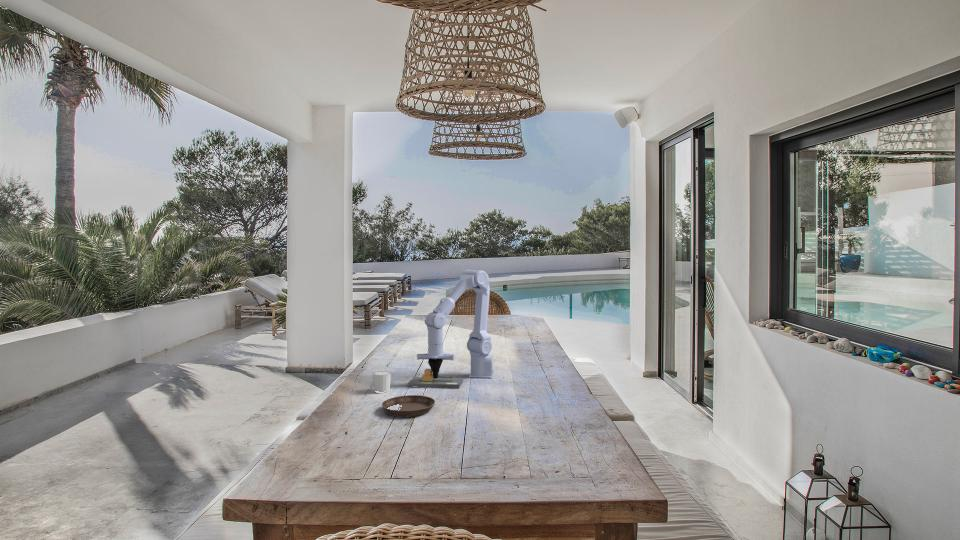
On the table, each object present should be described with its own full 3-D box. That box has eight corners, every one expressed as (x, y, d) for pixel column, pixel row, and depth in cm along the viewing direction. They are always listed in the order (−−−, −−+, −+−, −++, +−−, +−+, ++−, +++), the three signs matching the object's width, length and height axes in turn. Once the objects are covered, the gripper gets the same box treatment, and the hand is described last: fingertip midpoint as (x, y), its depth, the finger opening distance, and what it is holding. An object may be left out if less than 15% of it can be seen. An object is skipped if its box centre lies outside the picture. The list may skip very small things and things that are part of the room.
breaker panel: (463, 382, 234) (463, 378, 233) (458, 388, 224) (458, 384, 224) (414, 380, 236) (414, 376, 236) (407, 387, 226) (407, 382, 226)
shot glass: (393, 389, 224) (393, 371, 223) (388, 394, 217) (388, 375, 216) (375, 388, 224) (375, 370, 224) (370, 393, 217) (370, 374, 217)
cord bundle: (452, 378, 239) (452, 376, 239) (451, 380, 236) (451, 377, 236) (423, 378, 240) (423, 375, 240) (422, 379, 238) (422, 377, 238)
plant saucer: (385, 421, 186) (385, 412, 186) (379, 406, 203) (379, 397, 202) (440, 416, 191) (440, 407, 190) (429, 401, 208) (429, 393, 207)
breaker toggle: (434, 378, 232) (434, 368, 232) (431, 381, 227) (431, 371, 227) (424, 378, 233) (424, 368, 233) (421, 381, 228) (421, 371, 228)
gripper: (414, 345, 226) (415, 379, 227) (451, 345, 224) (452, 381, 225) (419, 341, 233) (419, 375, 234) (455, 342, 231) (455, 376, 232)
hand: (435, 377), depth 230 cm, fingers closed
